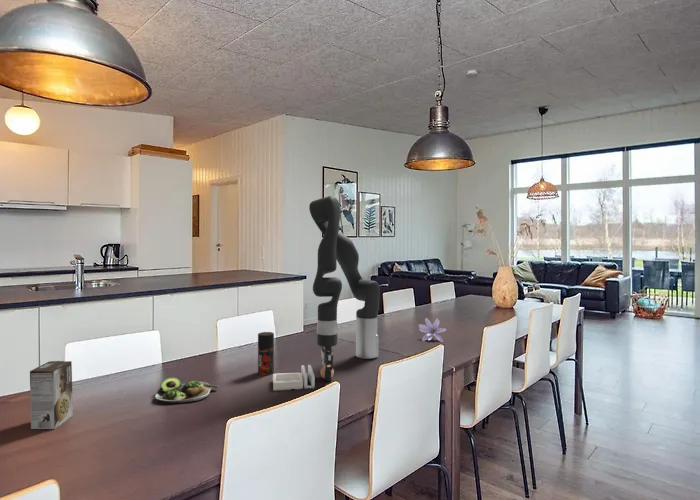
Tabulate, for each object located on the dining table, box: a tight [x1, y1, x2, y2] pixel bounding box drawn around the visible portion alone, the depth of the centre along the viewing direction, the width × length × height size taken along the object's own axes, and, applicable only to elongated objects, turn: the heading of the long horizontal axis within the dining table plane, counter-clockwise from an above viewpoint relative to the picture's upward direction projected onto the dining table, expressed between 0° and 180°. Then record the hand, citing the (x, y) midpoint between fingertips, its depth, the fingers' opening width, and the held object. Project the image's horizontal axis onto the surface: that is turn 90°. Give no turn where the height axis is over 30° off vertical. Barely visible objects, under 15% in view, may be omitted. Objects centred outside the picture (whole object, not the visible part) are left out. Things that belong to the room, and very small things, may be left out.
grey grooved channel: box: [300, 364, 316, 390], centre depth 155 cm, size 4×14×4 cm, turn 11°
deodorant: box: [257, 331, 275, 376], centre depth 165 cm, size 6×6×15 cm
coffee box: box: [29, 360, 74, 430], centre depth 120 cm, size 9×6×16 cm
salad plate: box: [153, 377, 220, 405], centre depth 143 cm, size 19×18×5 cm
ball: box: [319, 365, 335, 380], centre depth 159 cm, size 5×5×5 cm
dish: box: [272, 371, 304, 392], centre depth 152 cm, size 10×10×3 cm
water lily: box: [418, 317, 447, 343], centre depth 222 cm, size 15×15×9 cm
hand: (326, 377), depth 159 cm, fingers closed on ball, 5 cm apart
